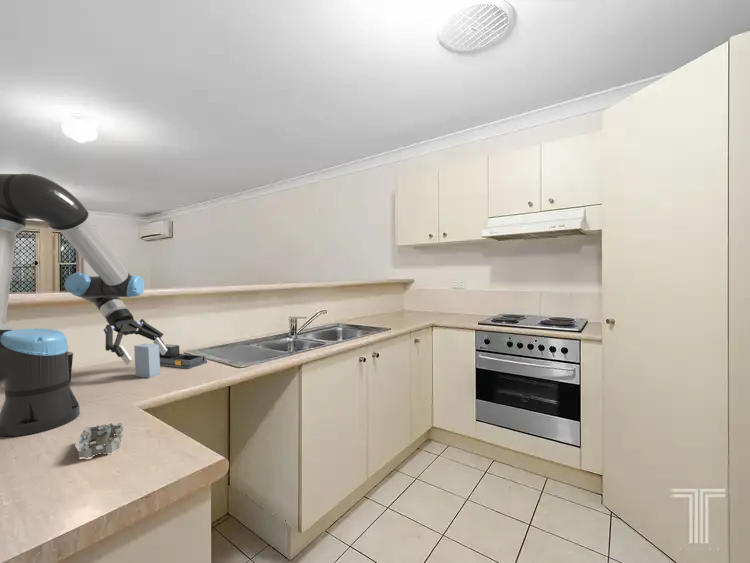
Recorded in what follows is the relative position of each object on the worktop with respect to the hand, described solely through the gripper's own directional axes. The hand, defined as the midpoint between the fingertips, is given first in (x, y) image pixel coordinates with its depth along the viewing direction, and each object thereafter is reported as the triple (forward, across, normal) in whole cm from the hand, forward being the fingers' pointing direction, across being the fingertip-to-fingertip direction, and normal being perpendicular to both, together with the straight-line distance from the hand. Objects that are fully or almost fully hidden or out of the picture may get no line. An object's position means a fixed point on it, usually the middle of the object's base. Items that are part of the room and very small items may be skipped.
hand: (148, 357), depth 126 cm
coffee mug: (-11, +17, -20) cm, 28 cm away
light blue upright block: (+5, +1, -4) cm, 6 cm away
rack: (+3, -14, -6) cm, 16 cm away
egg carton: (+32, +40, +22) cm, 56 cm away
